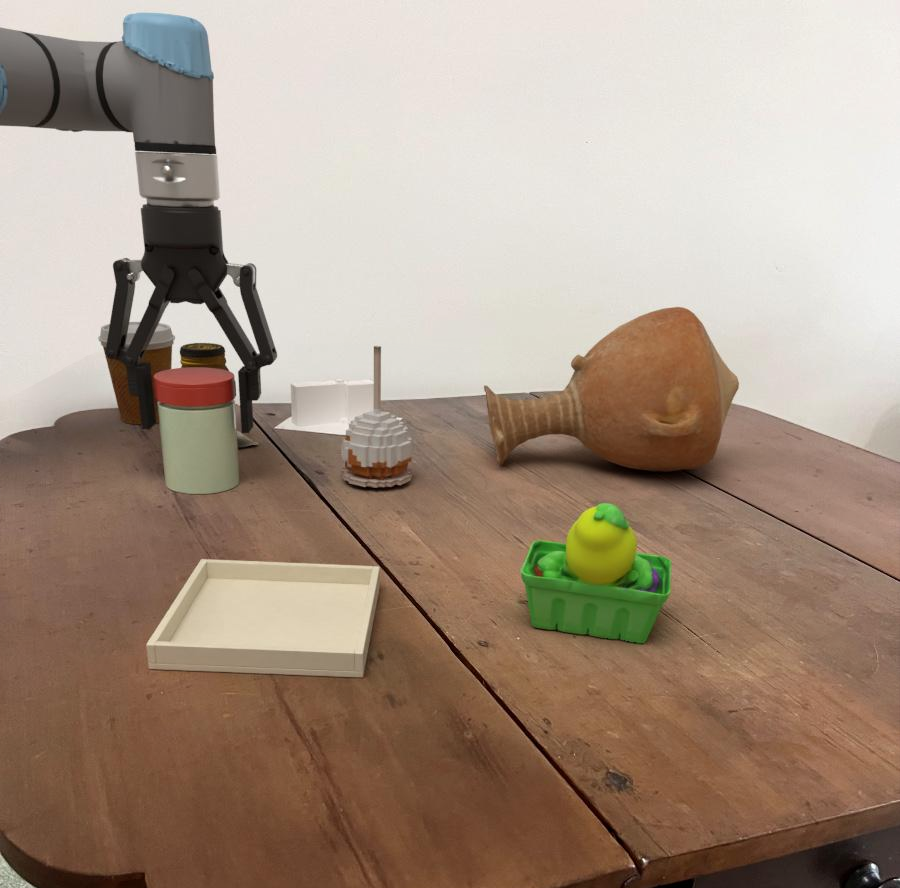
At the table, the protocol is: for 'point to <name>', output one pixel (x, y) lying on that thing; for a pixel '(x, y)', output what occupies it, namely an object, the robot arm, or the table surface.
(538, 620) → the fruit basket
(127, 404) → the disposable coffee cup
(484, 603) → the table surface
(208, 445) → the jar
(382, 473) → the caramel apple
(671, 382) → the jug
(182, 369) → the lid
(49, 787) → the table surface
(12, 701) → the table surface
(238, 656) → the tray
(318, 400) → the napkin holder
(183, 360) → the condiment
